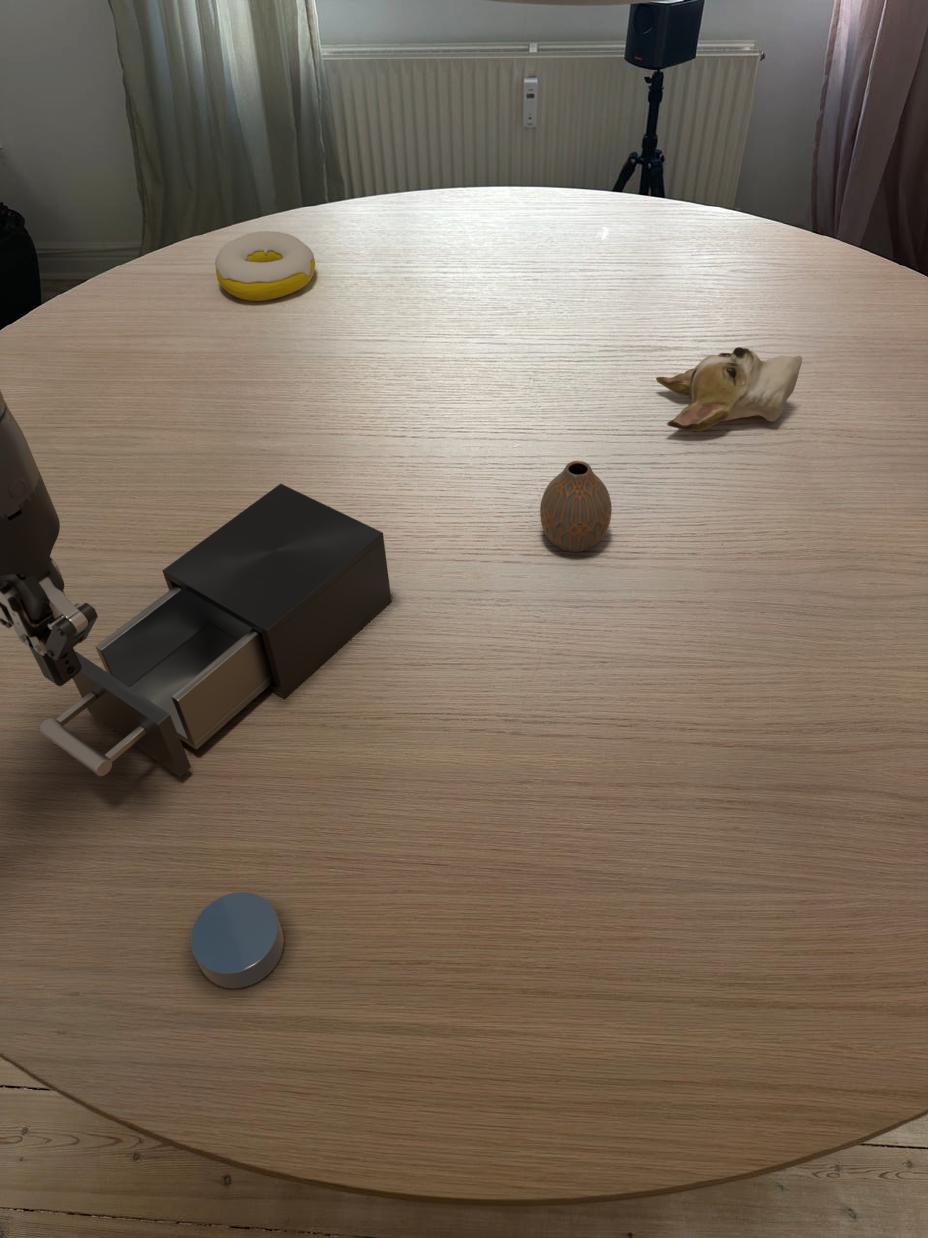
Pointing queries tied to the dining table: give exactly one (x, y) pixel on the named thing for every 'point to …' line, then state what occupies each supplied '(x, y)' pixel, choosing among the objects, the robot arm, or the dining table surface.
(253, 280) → the donut
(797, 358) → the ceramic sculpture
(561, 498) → the vase
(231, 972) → the cylinder
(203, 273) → the dining table surface
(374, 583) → the cabinet
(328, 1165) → the dining table surface
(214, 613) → the drawer
